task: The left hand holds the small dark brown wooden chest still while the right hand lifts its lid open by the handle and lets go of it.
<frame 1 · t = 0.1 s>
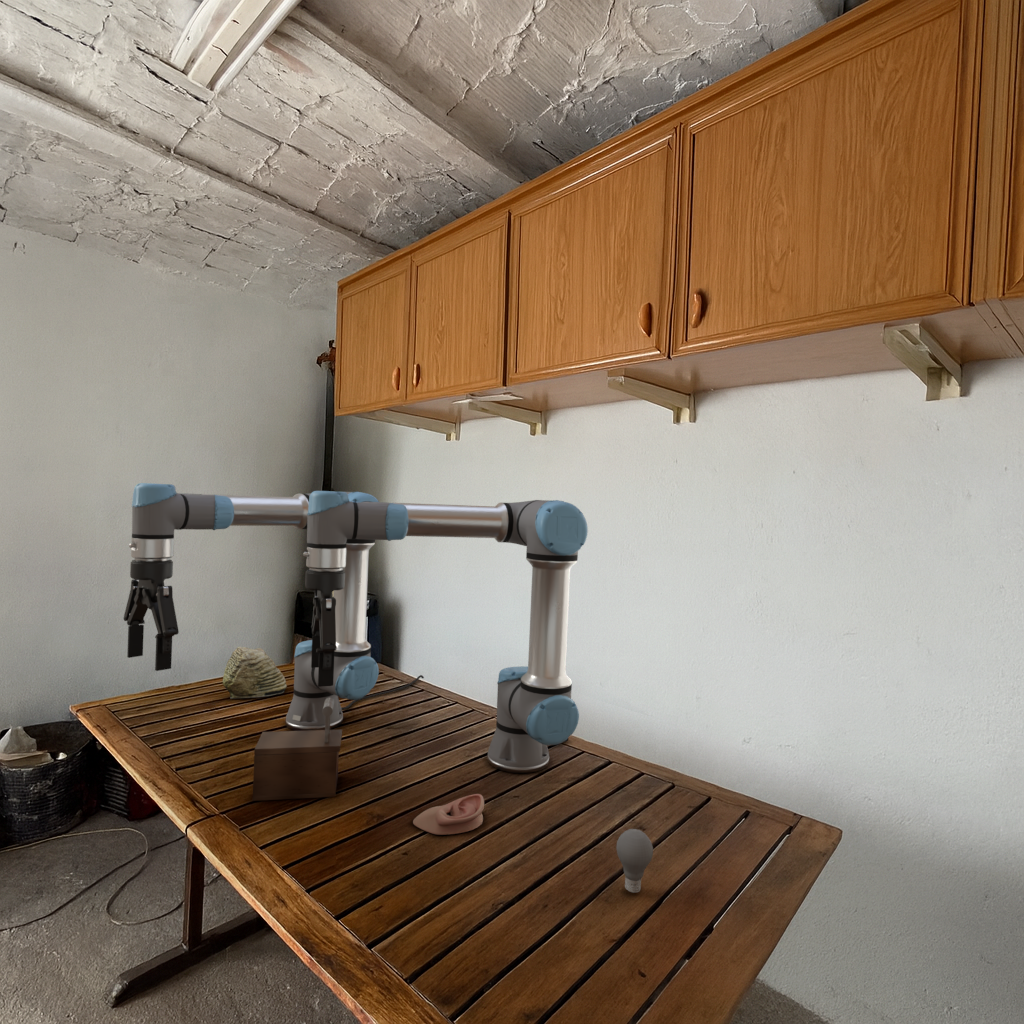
left hand: (148, 662, 129), 28 cm above the table, tool pointing down, fingers open, 13 cm apart
right hand: (321, 676, 125), 28 cm above the table, tool pointing down, fingers open, 13 cm apart
chest: (297, 788, 137), on the table
light bulb: (632, 891, 106), on the table
fossil: (254, 694, 198), on the table
lid: (301, 723, 137), point 14 cm above the table, hinge at 0.0°
anatomical model: (448, 821, 126), on the table
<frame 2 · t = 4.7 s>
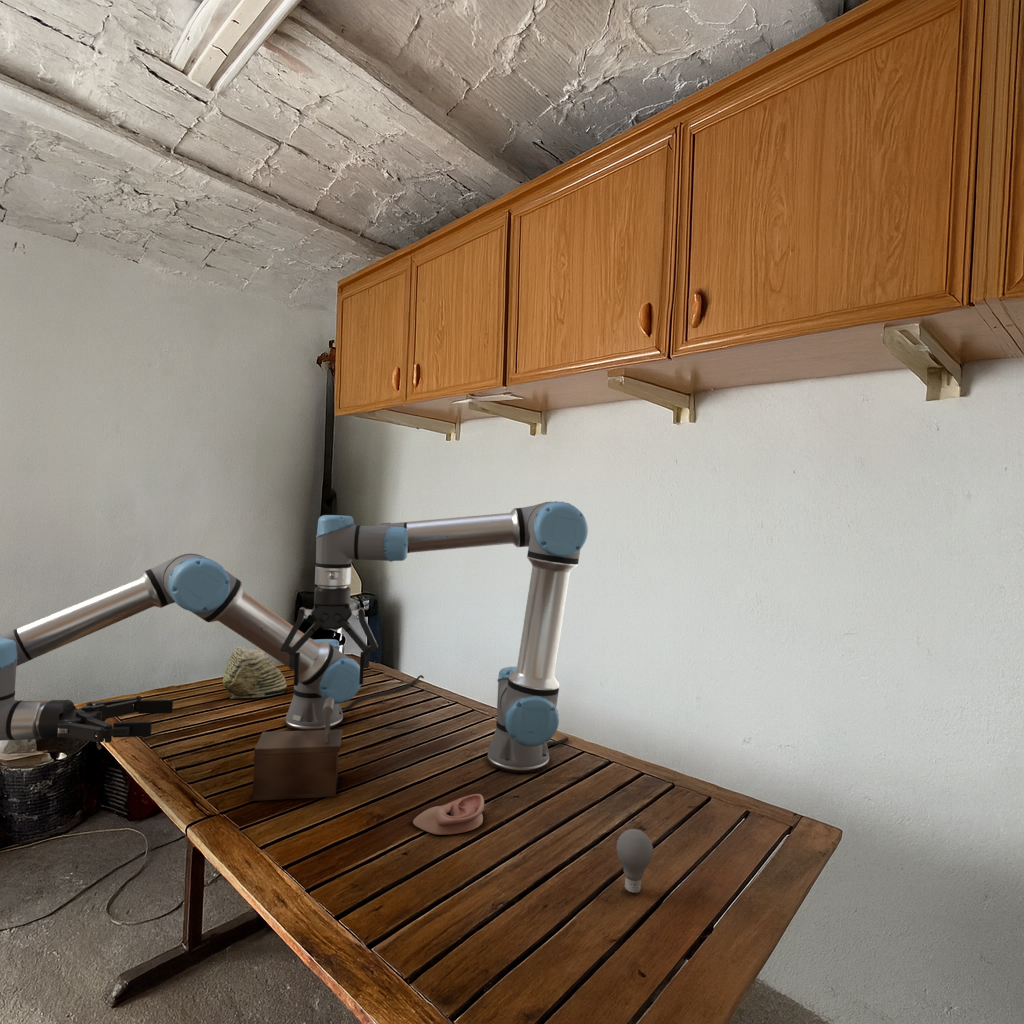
left hand: (162, 717, 131), 16 cm above the table, tool horizontal, fingers open, 13 cm apart
right hand: (329, 683, 138), 23 cm above the table, tool pointing down, fingers open, 13 cm apart
nothing on the table moved.
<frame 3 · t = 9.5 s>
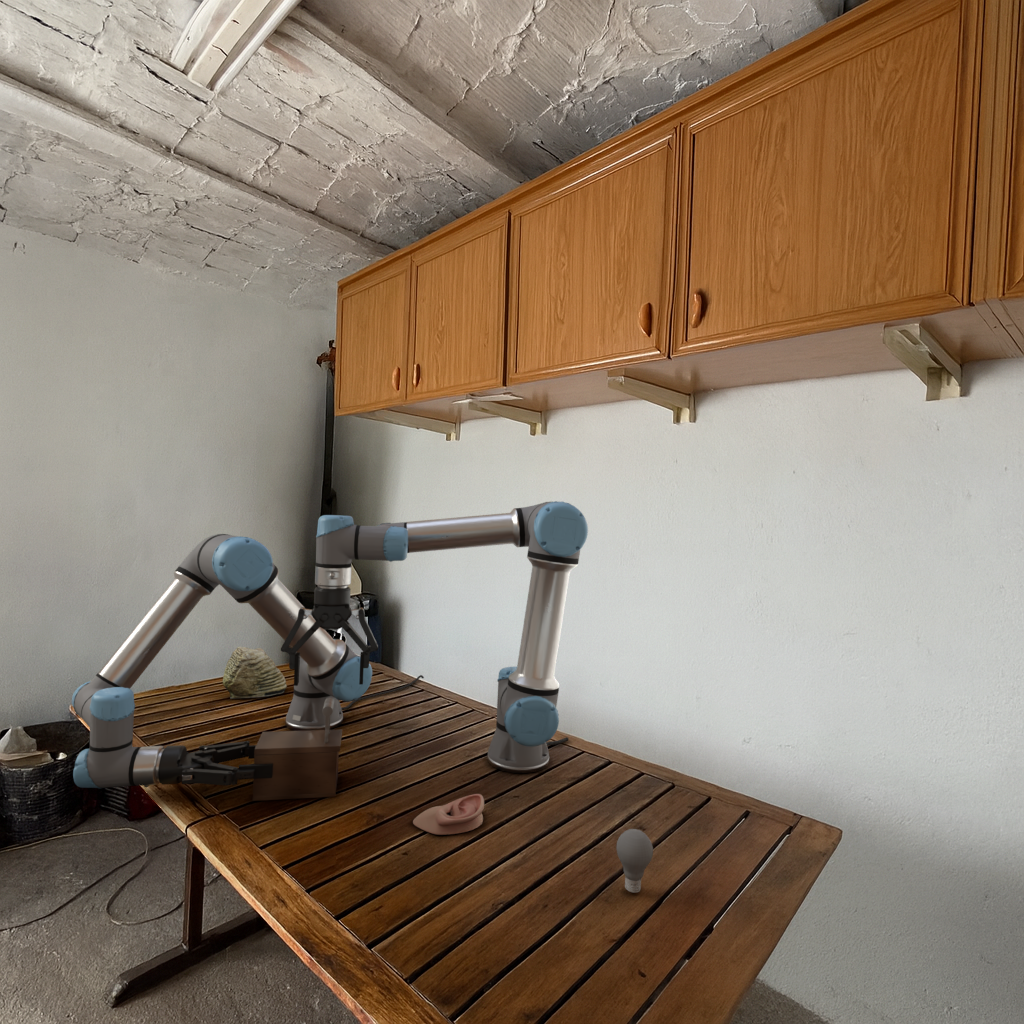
left hand: (276, 760, 136), 6 cm above the table, tool horizontal, fingers closed on chest, 10 cm apart
right hand: (329, 683, 138), 23 cm above the table, tool pointing down, fingers open, 13 cm apart
chest: (297, 788, 137), on the table, touching left hand
everything else where it was.
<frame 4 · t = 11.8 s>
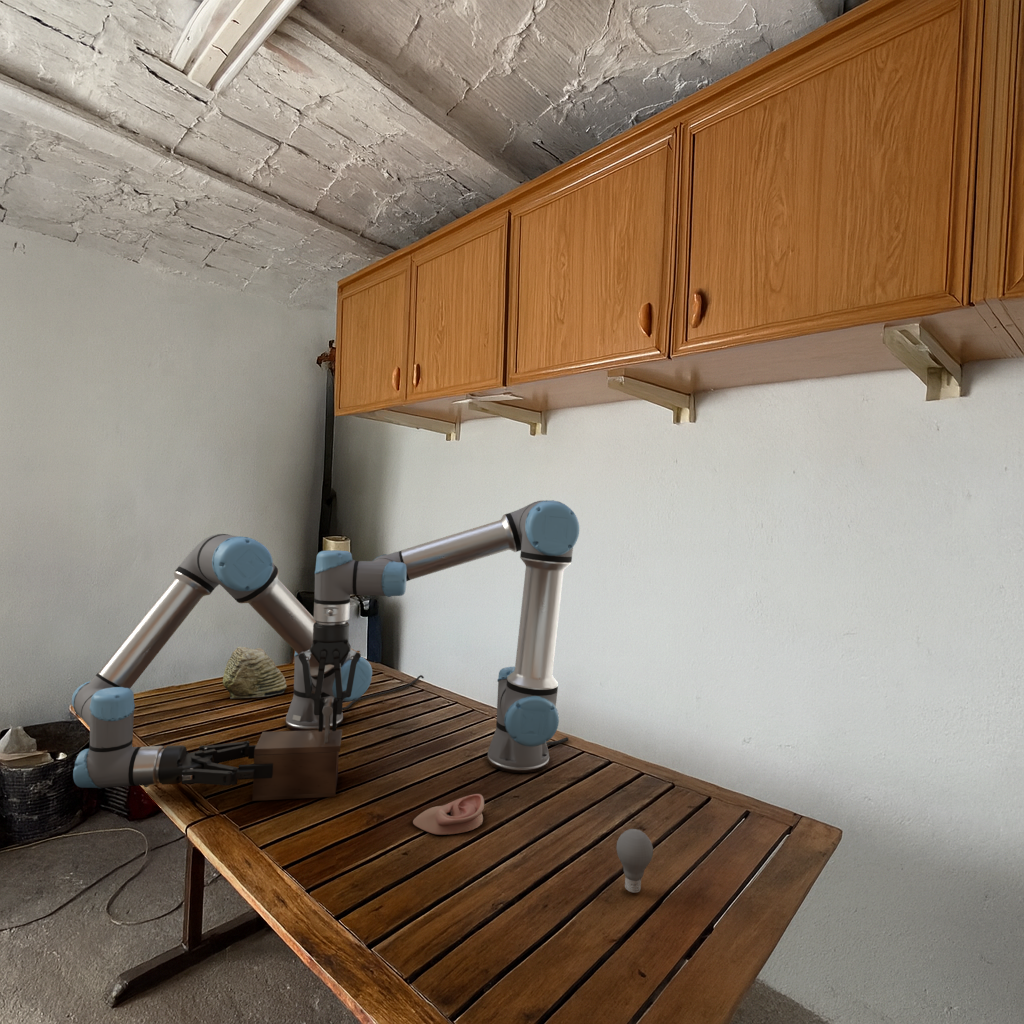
left hand: (276, 760, 136), 6 cm above the table, tool horizontal, fingers closed on chest, 10 cm apart
right hand: (327, 728, 138), 13 cm above the table, tool pointing down, fingers closed on lid, 2 cm apart
chest: (297, 788, 137), on the table, touching left hand
lid: (301, 723, 137), point 14 cm above the table, hinge at 0.0°, touching right hand
everything else where it was.
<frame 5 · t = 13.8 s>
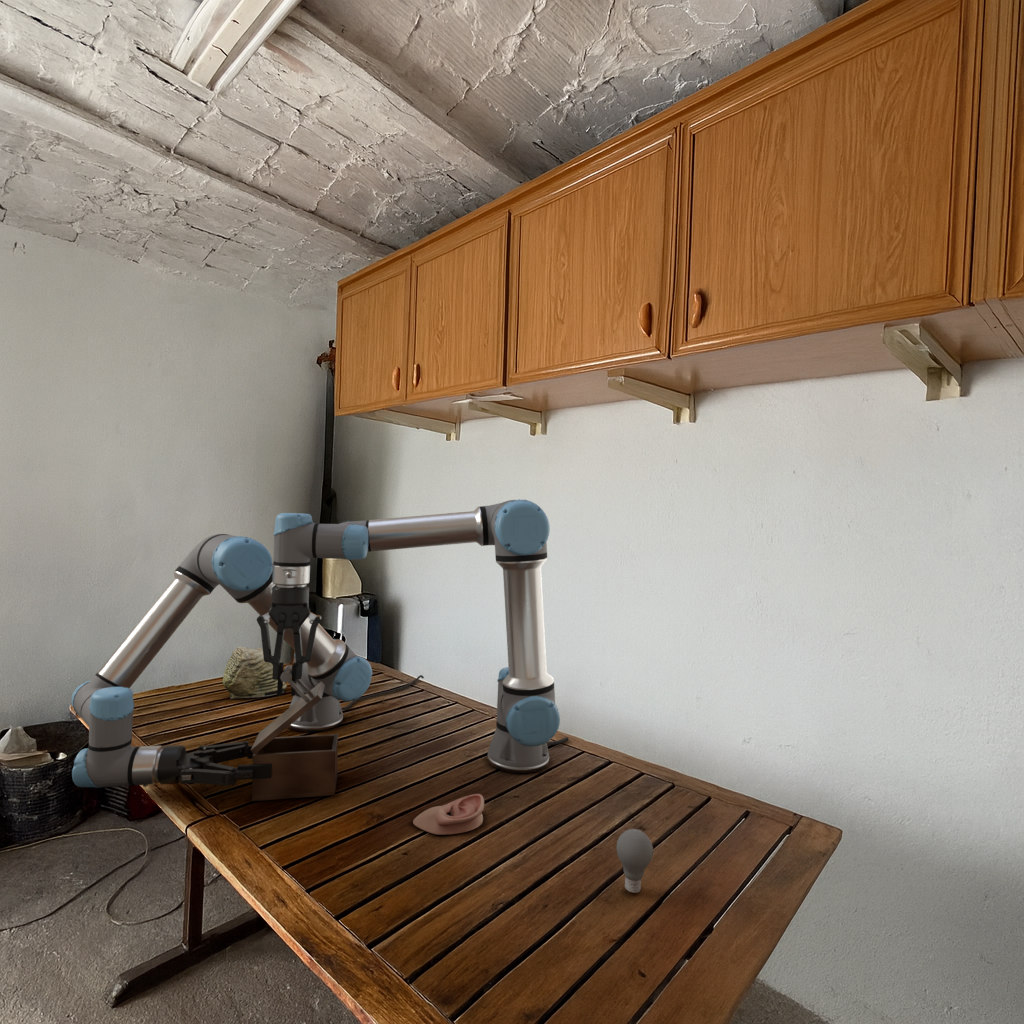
left hand: (275, 760, 136), 6 cm above the table, tool horizontal, fingers closed on chest, 10 cm apart
right hand: (286, 693, 136), 21 cm above the table, tool pointing down, fingers closed on lid, 2 cm apart
chest: (296, 787, 137), on the table, touching left hand
lid: (277, 703, 136), point 19 cm above the table, hinge at 40.0°, touching right hand
everything else where it was.
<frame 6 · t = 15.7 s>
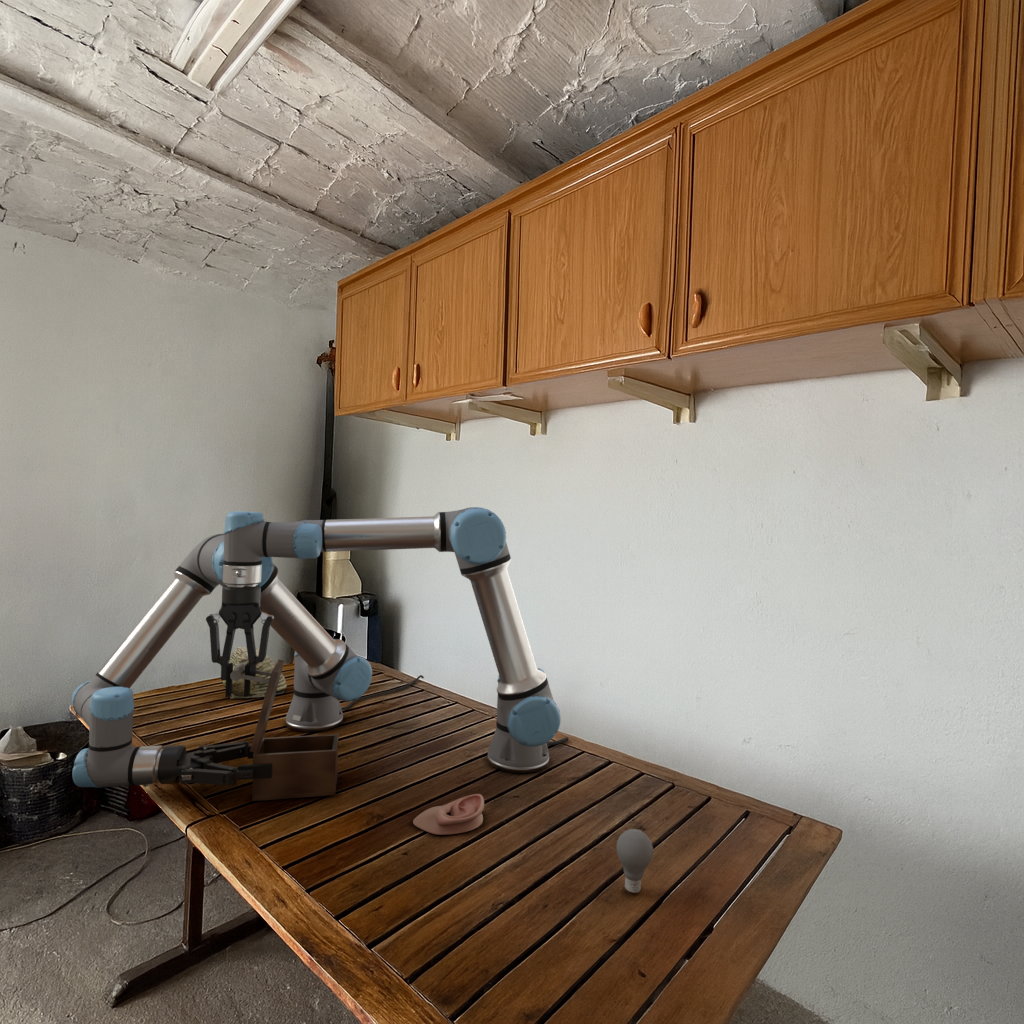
left hand: (275, 760, 136), 6 cm above the table, tool horizontal, fingers closed on chest, 10 cm apart
right hand: (237, 694, 134), 21 cm above the table, tool pointing down, fingers open, 3 cm apart
chest: (297, 787, 137), on the table, touching left hand
lid: (248, 700, 135), point 19 cm above the table, hinge at 76.3°
everything else where it was.
when the left hand's fingers open (6 cm above the table, at t = 19.7 s): chest stays where it is, on the table.
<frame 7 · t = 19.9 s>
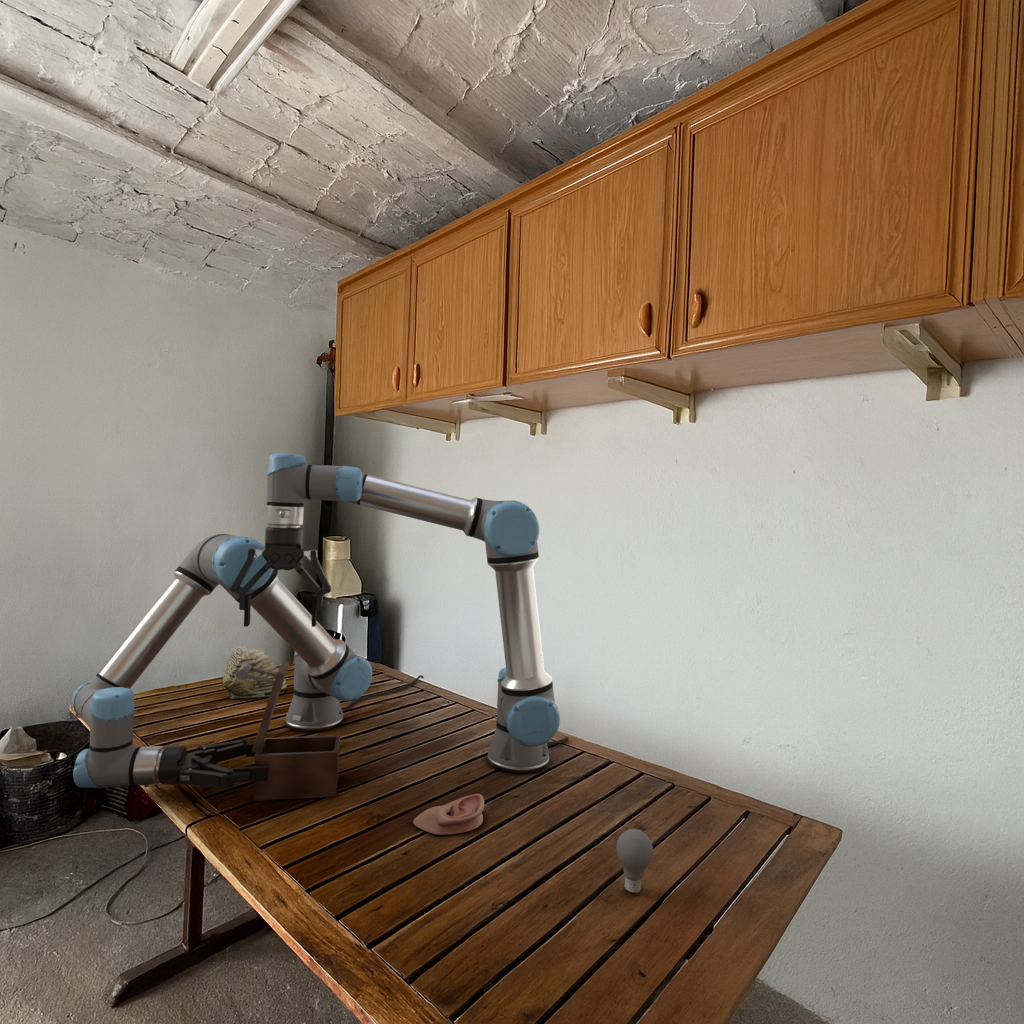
left hand: (272, 760, 136), 6 cm above the table, tool horizontal, fingers open, 12 cm apart
right hand: (280, 625, 135), 35 cm above the table, tool pointing down, fingers open, 13 cm apart
chest: (297, 788, 137), on the table
lid: (252, 700, 135), point 19 cm above the table, hinge at 74.9°
everything else where it was.
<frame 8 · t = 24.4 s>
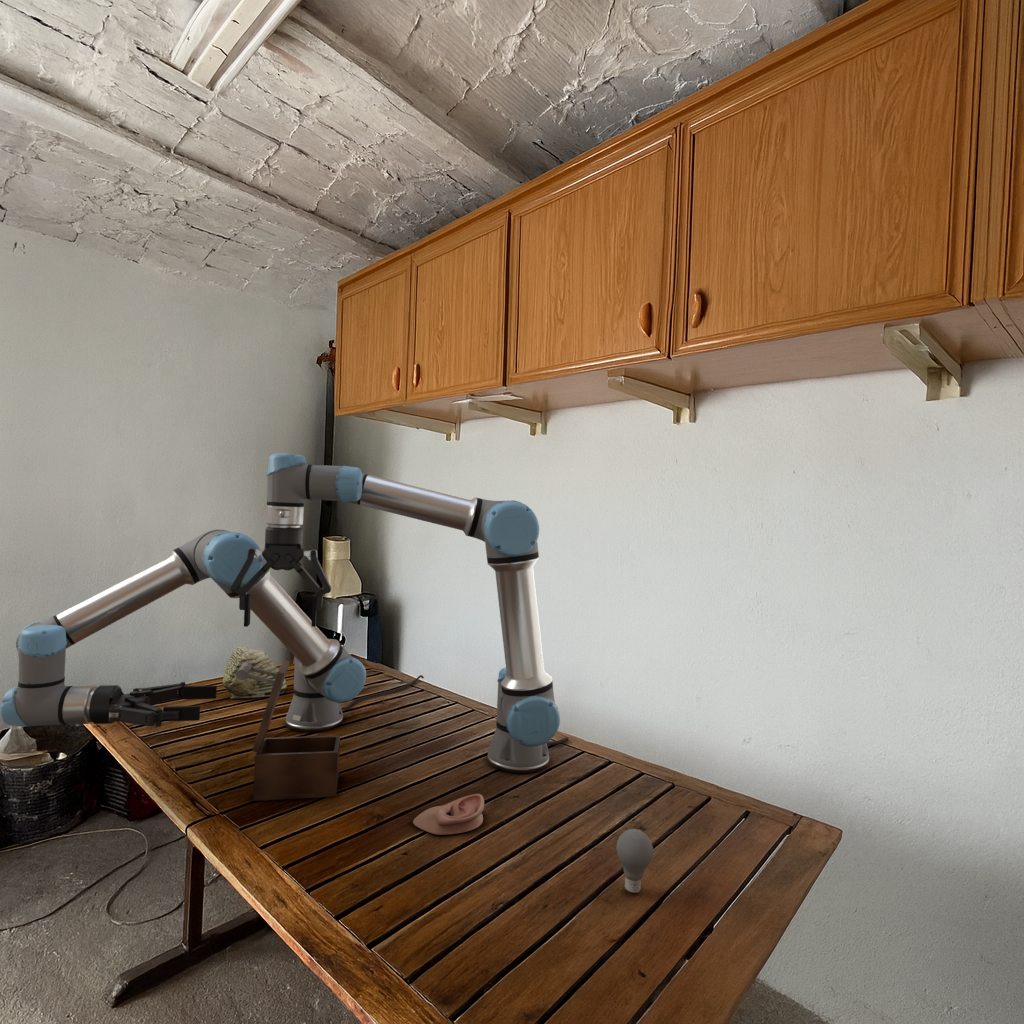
left hand: (208, 702, 133), 19 cm above the table, tool horizontal, fingers open, 13 cm apart
right hand: (280, 625, 135), 35 cm above the table, tool pointing down, fingers open, 13 cm apart
nothing on the table moved.
at the end: lid at +75° (first picture: +0°); the left hand is holding nothing; the right hand is holding nothing; chest tilted 0°; chest never tilted more than 2° during the clip; chest moved 0.2 cm from its start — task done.
